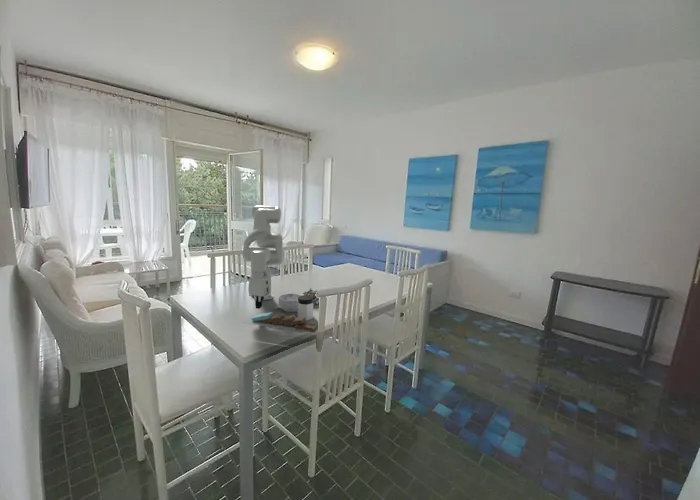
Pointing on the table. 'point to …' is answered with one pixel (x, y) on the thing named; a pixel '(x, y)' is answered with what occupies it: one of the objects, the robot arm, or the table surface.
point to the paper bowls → (289, 302)
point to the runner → (269, 324)
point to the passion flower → (311, 293)
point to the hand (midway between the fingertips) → (258, 307)
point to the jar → (305, 307)
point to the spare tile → (262, 316)
